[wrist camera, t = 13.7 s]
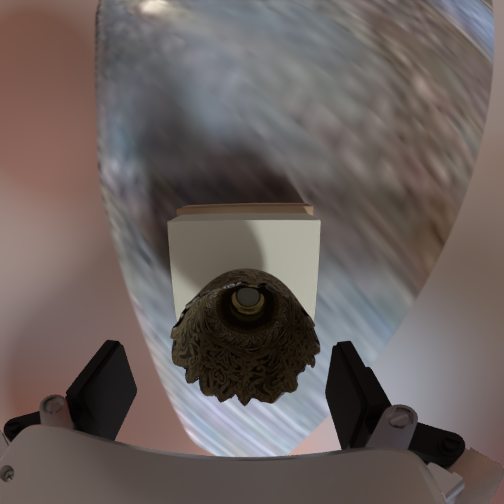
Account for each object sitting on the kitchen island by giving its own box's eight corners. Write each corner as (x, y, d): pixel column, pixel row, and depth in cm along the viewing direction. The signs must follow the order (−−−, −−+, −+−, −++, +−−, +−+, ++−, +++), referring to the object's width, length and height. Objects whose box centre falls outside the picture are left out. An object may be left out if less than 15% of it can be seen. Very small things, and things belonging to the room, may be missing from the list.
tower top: (182, 214, 23) (167, 221, 19) (307, 213, 23) (320, 220, 19) (191, 325, 26) (181, 351, 22) (302, 325, 26) (310, 350, 22)
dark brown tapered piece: (262, 352, 22) (264, 423, 14) (183, 308, 21) (149, 367, 13) (316, 280, 20) (349, 333, 12) (232, 227, 19) (216, 253, 11)
